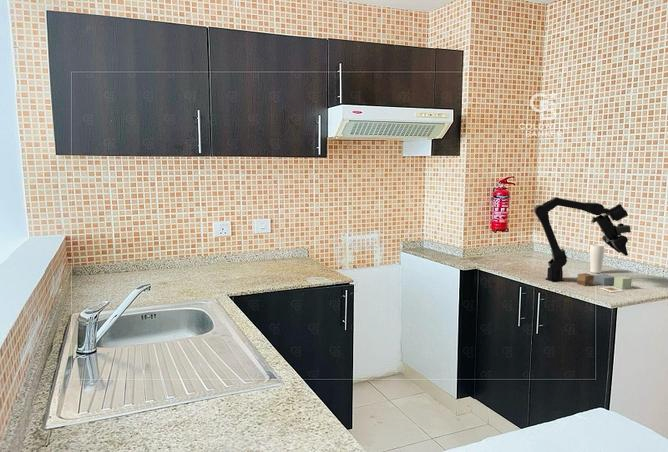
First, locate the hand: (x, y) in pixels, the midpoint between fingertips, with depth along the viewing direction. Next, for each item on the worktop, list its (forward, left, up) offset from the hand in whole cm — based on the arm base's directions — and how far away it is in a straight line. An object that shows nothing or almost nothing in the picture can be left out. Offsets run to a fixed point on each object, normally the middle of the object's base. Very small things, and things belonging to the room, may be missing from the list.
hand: (623, 254), depth 242 cm
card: (-14, -9, -14) cm, 22 cm away
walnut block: (-18, +3, -15) cm, 24 cm away
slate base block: (-8, +2, -15) cm, 17 cm away
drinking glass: (+6, +23, -15) cm, 28 cm away
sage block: (-6, -7, -15) cm, 17 cm away
